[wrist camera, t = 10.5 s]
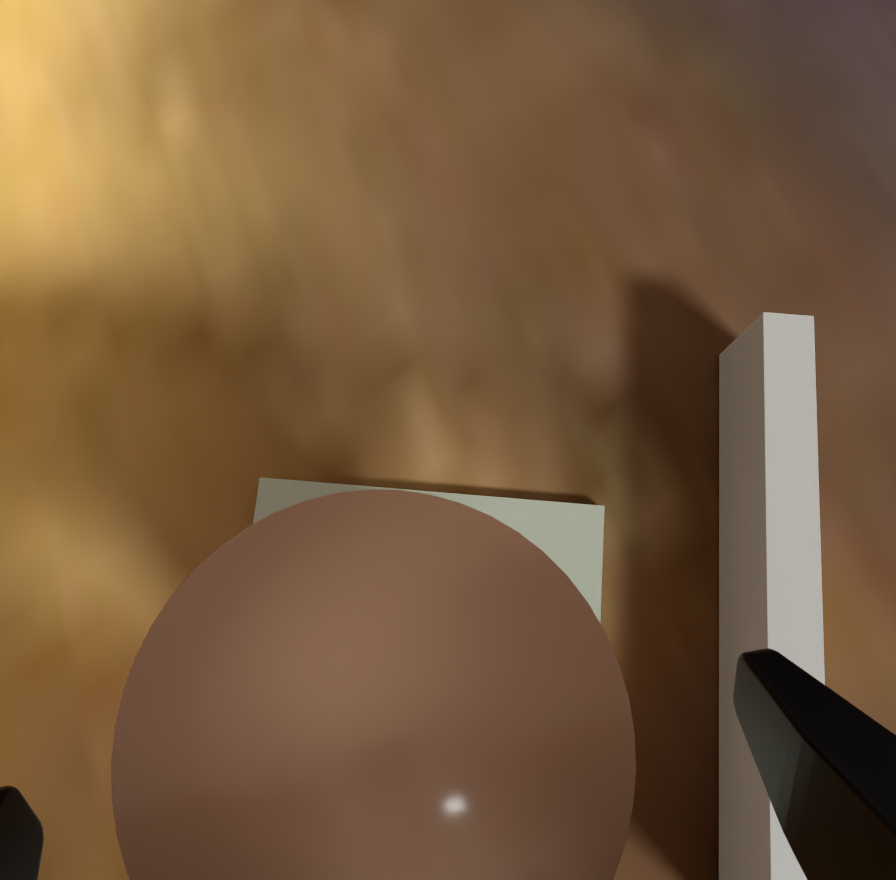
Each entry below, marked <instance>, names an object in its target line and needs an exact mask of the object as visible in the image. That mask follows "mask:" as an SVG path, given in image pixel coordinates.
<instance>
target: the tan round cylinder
mask: <svg viewBox="0 0 896 880" xmlns="http://www.w3.org/2000/svg"><path fill="white" fill-rule="evenodd" d="M111 773H112V804H113V811H114V818H115V825H116V832H117V838H118V841H119V845H120V849H121V852H122V856H123V860H124V863H125V867H126V871H127V874H128V876H129V878H130V880H613V878H614V875H615V872H616V869H617V867H618V864H619V861H620V858H621V855H622V852H623V849H624V846H625V843H626V838H627V834H628V829H629V824H630V819H631V814H632V810H633V802H634V790H635V778H636V753H635V732H634V726H633V720H632V714H631V708H630V701H629V696H628V693H627V690H626V686H625V683H624V679H623V676H622V672H621V669H620V666H619V663H618V660H617V658H616V656H615V653H614V651H613V649H612V646H611V644H610V642H609V640H608V637H607V635H606V633H605V631H604V629H603V627H602V626H601V624H600V622H599V620H598V619H597V617H596V615H595V614H594V612H593V610H592V609H591V607H590V605H589V603H588V602H587V601H586V599H585V598H584V597H583V595H582V594H581V593H580V591H579V590H578V589H577V588H576V586H575V585H574V584H573V582H572V581H571V580H570V578H569V577H568V576H567V575H566V574H565V573H564V572H563V571H562V570H561V569H560V568H559V567H558V566H557V565H556V564H555V563H554V562H553V561H552V560H551V559H550V558H549V557H548V556H547V555H546V554H545V553H544V552H543V551H542V550H541V549H539V548H538V547H537V546H535V545H534V544H533V543H532V542H530V541H529V540H528V539H526V538H525V537H524V536H523V535H521V534H520V533H519V532H517V531H516V530H514V529H512V528H511V527H509V526H507V525H505V524H504V523H502V522H500V521H499V520H497V519H495V518H494V517H492V516H490V515H488V514H485V513H483V512H481V511H478V510H476V509H474V508H471V507H469V506H467V505H464V504H462V503H459V502H455V501H452V500H448V499H445V498H441V497H438V496H434V495H430V494H424V493H417V492H410V491H403V490H369V489H367V490H358V491H350V492H341V493H334V494H330V495H326V496H322V497H318V498H314V499H310V500H306V501H303V502H300V503H298V504H295V505H292V506H290V507H287V508H285V509H282V510H280V511H277V512H274V513H273V514H271V515H269V516H267V517H265V518H263V519H261V520H260V521H258V522H256V523H254V524H252V525H250V526H248V527H247V528H245V529H243V530H242V531H241V532H239V533H238V534H236V535H235V536H234V537H232V538H231V539H229V540H228V541H227V542H225V543H224V544H222V545H221V546H220V547H218V548H217V549H216V550H215V551H214V552H213V553H212V554H211V555H209V556H208V557H207V558H206V559H205V560H204V561H203V562H202V563H201V564H200V565H199V566H197V567H196V568H195V569H194V570H193V571H192V572H191V574H190V575H189V576H188V577H187V578H186V579H185V581H184V582H183V583H182V584H181V585H180V586H179V588H178V589H177V590H176V591H175V592H174V593H173V595H172V596H171V597H170V599H169V600H168V602H167V603H166V605H165V606H164V608H163V609H162V611H161V612H160V614H159V615H158V617H157V618H156V620H155V621H154V623H153V624H152V626H151V628H150V630H149V632H148V634H147V636H146V638H145V640H144V642H143V644H142V646H141V647H140V649H139V651H138V653H137V655H136V658H135V660H134V663H133V666H132V669H131V671H130V674H129V677H128V680H127V682H126V685H125V688H124V691H123V695H122V699H121V704H120V708H119V712H118V716H117V721H116V725H115V733H114V742H113V752H112V761H111Z"/></svg>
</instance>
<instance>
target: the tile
mask: <svg viewBox="0 0 896 880" xmlns="http://www.w3.org/2000/svg"><path fill="white" fill-rule="evenodd" d="M367 489H369V490H403V491H410V492H417V493H424V494H430V495H434V496H438V497H441V498H445V499H448V500H452V501H455V502H459V503H462V504H464V505H467V506H469V507H471V508H474V509H476V510H478V511H481V512H483V513H485V514H488V515H490V516H492V517H494V518H495V519H497V520H499V521H500V522H502V523H504V524H505V525H507V526H509V527H511V528H512V529H514V530H516V531H517V532H519V533H520V534H521V535H523V536H524V537H525V538H526V539H528V540H529V541H530V542H532V543H533V544H534V545H535V546H537V547H538V548H539V549H541V550H542V551H543V552H544V553H545V554H546V555H547V556H548V557H549V558H550V559H551V560H552V561H553V562H554V563H555V564H556V565H557V566H558V567H559V568H560V569H561V570H562V571H563V572H564V573H565V574H566V575H567V576H568V577H569V578H570V580H571V581H572V582H573V584H574V585H575V586H576V588H577V589H578V590H579V591H580V593H581V594H582V595H583V597H584V598H585V599H586V601H587V602H588V603H589V605H590V607H591V609H592V610H593V612H594V614H595V615H596V617H597V619H598V620H599V622H600V617H601V589H602V561H603V534H604V506H601V505H589V504H576V503H564V502H552V501H540V500H528V499H516V498H504V497H492V496H480V495H468V494H456V493H444V492H431V491H419V490H407V489H395V488H383V487H371V486H359V485H347V484H335V483H323V482H311V481H299V480H287V479H274V478H262V477H260V478H259V485H258V492H257V499H256V506H255V513H254V520H253V524H254V523H256V522H258V521H260V520H261V519H263V518H265V517H267V516H269V515H271V514H273V513H274V512H277V511H280V510H282V509H285V508H287V507H290V506H292V505H295V504H298V503H300V502H303V501H306V500H310V499H314V498H318V497H322V496H326V495H330V494H334V493H341V492H350V491H358V490H367Z"/></svg>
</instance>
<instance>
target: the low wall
mask: <svg viewBox="0 0 896 880" xmlns="http://www.w3.org/2000/svg"><path fill="white" fill-rule="evenodd" d="M765 648H769V649H773V650H775V651H777V652H779V653H780V654H782V655H783V656H785V657H786V658H787V659H789V660H790V661H792V662H793V663H794V664H796V665H797V666H799V667H800V668H802V669H803V670H804V671H806V672H807V673H809V674H810V675H811V676H813V677H814V678H816V679H817V680H818V681H820V682H821V683H823V684H824V685H825V675H824V641H823V608H822V574H821V541H820V508H819V474H818V441H817V407H816V374H815V341H814V316H806V315H793V314H780V313H767V312H763V313H762V314H761V315H760V316H759V317H758V318H757V319H756V320H755V321H754V322H753V323H752V324H751V325H750V326H749V327H747V328H746V329H745V330H744V331H743V332H742V333H741V334H740V335H739V336H738V337H737V338H736V339H735V340H734V341H733V342H732V343H731V344H730V345H729V346H728V347H727V348H726V349H725V350H724V351H723V352H722V353H721V354H720V355H719V880H807V878H806V876H805V874H804V872H803V870H802V869H801V867H800V865H799V863H798V861H797V859H796V857H795V855H794V853H793V851H792V849H791V847H790V845H789V843H788V841H787V839H786V837H785V835H784V833H783V830H782V828H781V825H780V823H779V821H778V818H777V816H776V814H775V811H774V808H773V806H772V803H771V801H770V798H769V796H768V793H767V791H766V788H765V786H764V783H763V781H762V778H761V776H760V773H759V770H758V768H757V765H756V763H755V760H754V758H753V755H752V753H751V750H750V748H749V745H748V743H747V740H746V738H745V735H744V732H743V730H742V727H741V725H740V722H739V720H738V717H737V714H736V711H735V708H734V702H733V691H734V683H735V674H736V666H737V660H738V657H739V656H740V654H741V653H744V652H748V651H754V650H759V649H765Z"/></svg>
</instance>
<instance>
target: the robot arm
mask: <svg viewBox="0 0 896 880" xmlns="http://www.w3.org/2000/svg"><path fill="white" fill-rule="evenodd" d="M733 702H734V708H735V711H736V714H737V717H738V720H739V722H740V725H741V727H742V730H743V732H744V735H745V738H746V740H747V743H748V745H749V748H750V750H751V753H752V755H753V758H754V760H755V763H756V765H757V768H758V770H759V773H760V776H761V778H762V781H763V783H764V786H765V788H766V791H767V793H768V796H769V798H770V801H771V803H772V806H773V808H774V811H775V814H776V816H777V818H778V821H779V823H780V825H781V828H782V830H783V833H784V835H785V837H786V839H787V841H788V843H789V845H790V847H791V849H792V851H793V853H794V855H795V857H796V859H797V861H798V863H799V865H800V867H801V869H802V870H803V872H804V874H805V876H806V878H807V880H896V735H895V734H893V733H892V732H890V731H889V730H887V729H886V728H885V727H883V726H882V725H880V724H879V723H878V722H876V721H875V720H873V719H872V718H871V717H869V716H868V715H866V714H865V713H864V712H862V711H861V710H859V709H858V708H856V707H855V706H854V705H852V704H851V703H849V702H848V701H847V700H845V699H844V698H842V697H841V696H840V695H838V694H837V693H835V692H834V691H833V690H831V689H830V688H828V687H827V686H825V685H824V684H823V683H821V682H820V681H818V680H817V679H816V678H814V677H813V676H811V675H810V674H809V673H807V672H806V671H804V670H803V669H802V668H800V667H799V666H797V665H796V664H794V663H793V662H792V661H790V660H789V659H787V658H786V657H785V656H783V655H782V654H780V653H779V652H777V651H775V650H773V649H769V648H765V649H759V650H754V651H748V652H744V653H741V654H740V656H739V657H738V660H737V666H736V674H735V683H734V691H733ZM43 841H44V834H43V828H42V825H41V822H40V821H39V819H38V818H37V816H36V815H35V813H34V812H33V810H32V809H31V807H30V806H29V804H28V803H27V801H26V800H25V799H24V797H23V796H22V794H21V793H20V791H19V790H18V789H17V788H15V787H13V786H3V787H0V880H38V874H39V868H40V861H41V855H42V849H43Z"/></svg>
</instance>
